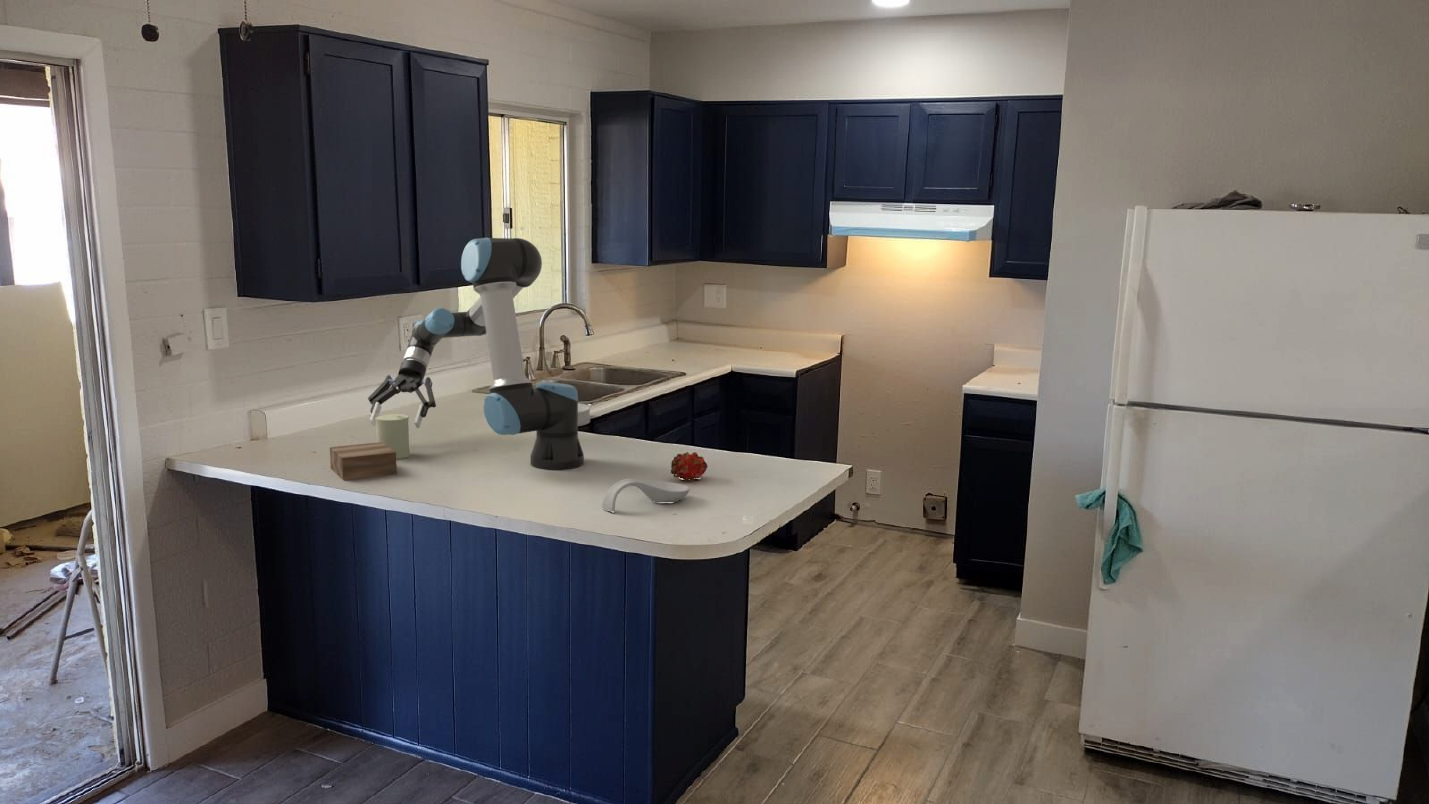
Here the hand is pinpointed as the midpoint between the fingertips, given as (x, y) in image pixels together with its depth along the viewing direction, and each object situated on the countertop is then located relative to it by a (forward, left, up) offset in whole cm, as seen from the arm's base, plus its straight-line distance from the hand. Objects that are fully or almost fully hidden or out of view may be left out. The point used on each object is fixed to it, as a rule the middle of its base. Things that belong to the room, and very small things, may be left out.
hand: (394, 424), depth 297 cm
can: (-3, +1, -9) cm, 9 cm away
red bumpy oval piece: (-66, -61, -9) cm, 90 cm away
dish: (+22, -62, -9) cm, 66 cm away
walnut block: (-17, +13, -9) cm, 23 cm away
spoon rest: (-81, -39, -9) cm, 91 cm away
